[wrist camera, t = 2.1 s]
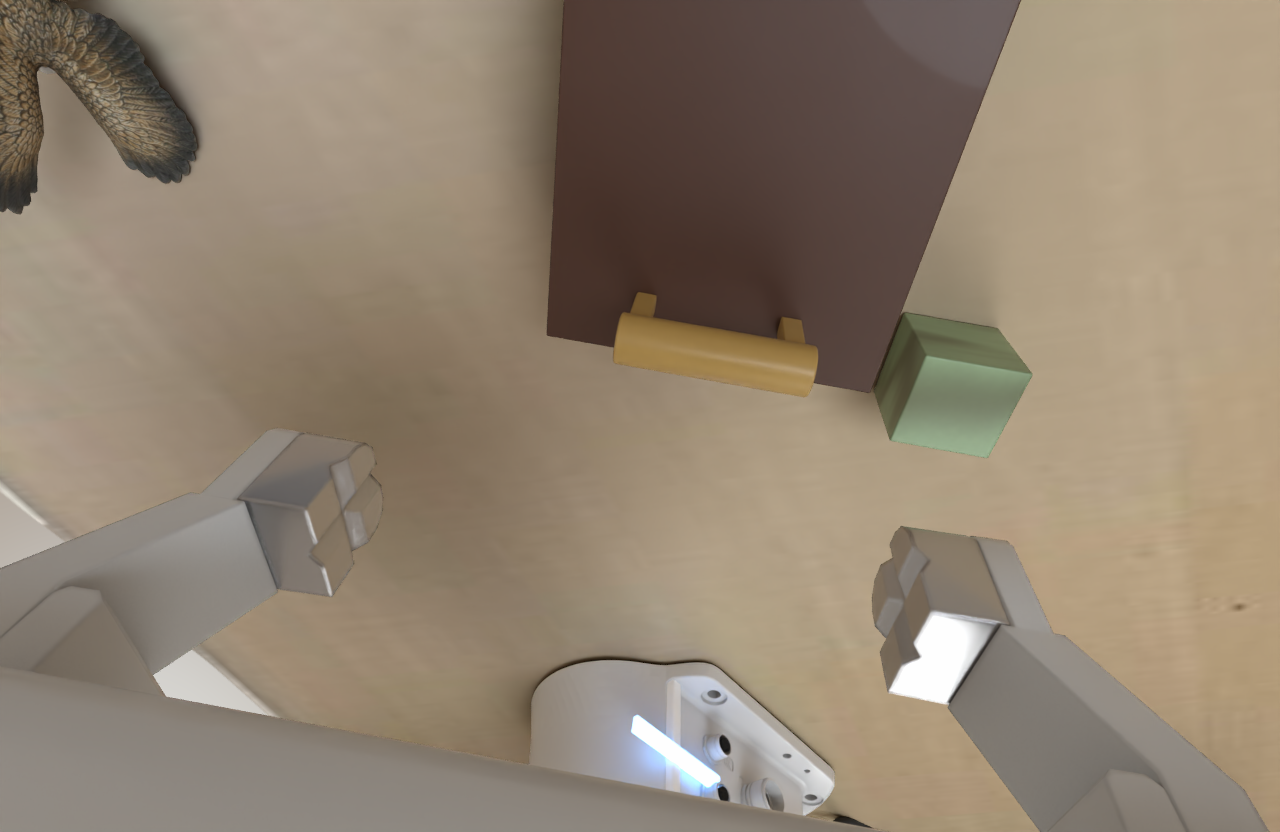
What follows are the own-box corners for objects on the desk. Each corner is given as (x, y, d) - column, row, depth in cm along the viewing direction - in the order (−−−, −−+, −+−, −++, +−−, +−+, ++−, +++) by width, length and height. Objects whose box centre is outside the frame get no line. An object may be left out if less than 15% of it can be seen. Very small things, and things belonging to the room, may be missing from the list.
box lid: (867, 385, 24) (890, 456, 20) (550, 329, 24) (515, 388, 21) (1120, -282, 14) (1251, -379, 11) (587, -353, 15) (535, -468, 11)
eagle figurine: (-100, -25, 24) (28, 219, 27) (-265, -118, 18) (-74, 213, 21) (130, -47, 27) (224, 181, 30) (56, -137, 20) (186, 165, 23)
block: (960, 406, 29) (988, 459, 26) (872, 391, 30) (889, 441, 26) (998, 328, 27) (1034, 374, 24) (903, 311, 27) (925, 355, 24)
